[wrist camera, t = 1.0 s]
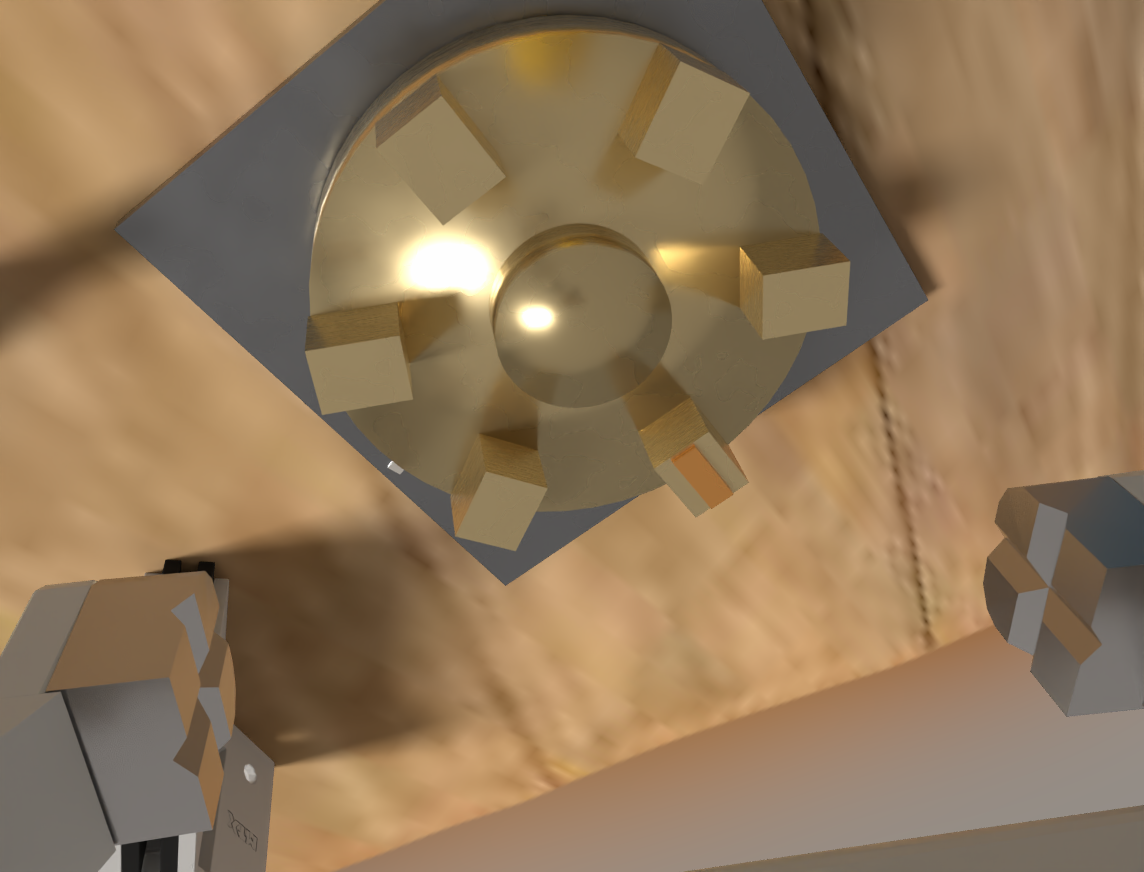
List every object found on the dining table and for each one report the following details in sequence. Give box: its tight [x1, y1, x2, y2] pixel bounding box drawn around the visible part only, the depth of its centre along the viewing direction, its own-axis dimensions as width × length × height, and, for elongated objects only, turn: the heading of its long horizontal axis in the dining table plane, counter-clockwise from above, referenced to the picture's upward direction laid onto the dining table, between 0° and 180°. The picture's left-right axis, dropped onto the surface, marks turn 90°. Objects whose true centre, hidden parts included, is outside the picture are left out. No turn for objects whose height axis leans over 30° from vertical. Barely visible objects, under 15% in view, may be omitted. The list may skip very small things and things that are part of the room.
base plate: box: [114, 0, 928, 586], centre depth 39 cm, size 22×22×1 cm
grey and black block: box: [99, 560, 275, 872], centre depth 43 cm, size 14×5×10 cm, turn 0°
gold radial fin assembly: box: [305, 15, 850, 551], centre depth 36 cm, size 18×18×6 cm
